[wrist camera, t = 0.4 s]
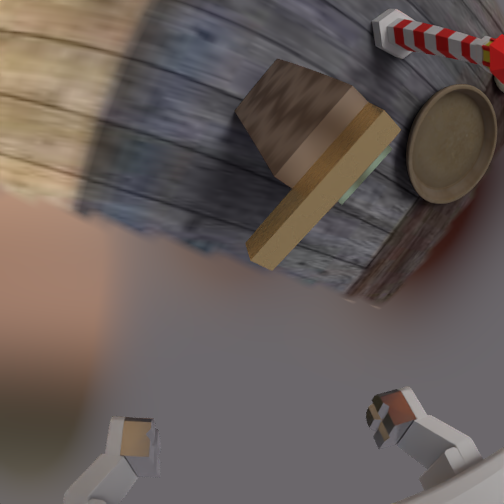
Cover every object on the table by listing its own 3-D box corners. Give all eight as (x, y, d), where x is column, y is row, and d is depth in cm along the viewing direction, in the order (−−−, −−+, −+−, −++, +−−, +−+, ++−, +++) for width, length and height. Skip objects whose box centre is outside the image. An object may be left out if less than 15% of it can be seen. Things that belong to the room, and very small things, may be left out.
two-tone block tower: (277, 58, 47) (352, 85, 26) (347, 118, 56) (435, 183, 36) (234, 111, 52) (274, 176, 31) (308, 163, 61) (374, 247, 40)
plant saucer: (490, 164, 70) (500, 172, 66) (411, 215, 75) (421, 225, 72) (476, 63, 50) (490, 68, 47) (381, 110, 56) (393, 117, 53)
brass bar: (368, 102, 28) (384, 110, 25) (385, 120, 29) (401, 129, 27) (245, 243, 36) (250, 260, 34) (265, 253, 37) (272, 270, 35)
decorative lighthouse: (397, 3, 41) (525, 20, 18) (419, 38, 46) (541, 76, 23) (362, 27, 45) (489, 52, 22) (387, 63, 50) (508, 111, 27)
